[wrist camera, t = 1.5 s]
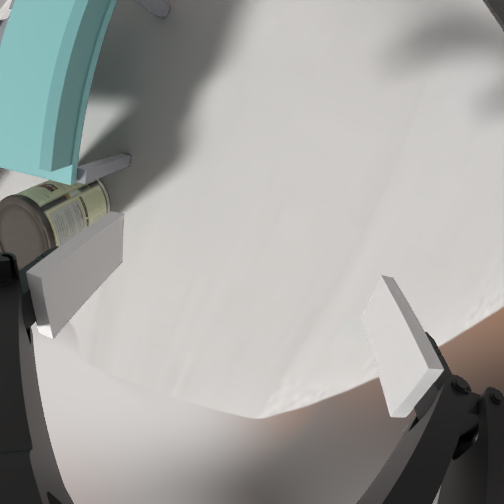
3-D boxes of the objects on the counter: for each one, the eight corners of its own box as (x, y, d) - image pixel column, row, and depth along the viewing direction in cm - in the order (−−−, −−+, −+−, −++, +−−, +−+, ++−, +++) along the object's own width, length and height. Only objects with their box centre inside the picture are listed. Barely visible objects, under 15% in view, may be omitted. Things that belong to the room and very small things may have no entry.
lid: (22, -6, 17) (0, -11, 13) (127, -24, 18) (107, -39, 14) (-12, 161, 26) (-35, 169, 22) (76, 182, 27) (51, 193, 23)
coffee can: (67, 240, 42) (10, 283, 29) (50, 177, 38) (-16, 205, 25) (119, 233, 41) (63, 281, 28) (102, 162, 37) (34, 186, 24)
